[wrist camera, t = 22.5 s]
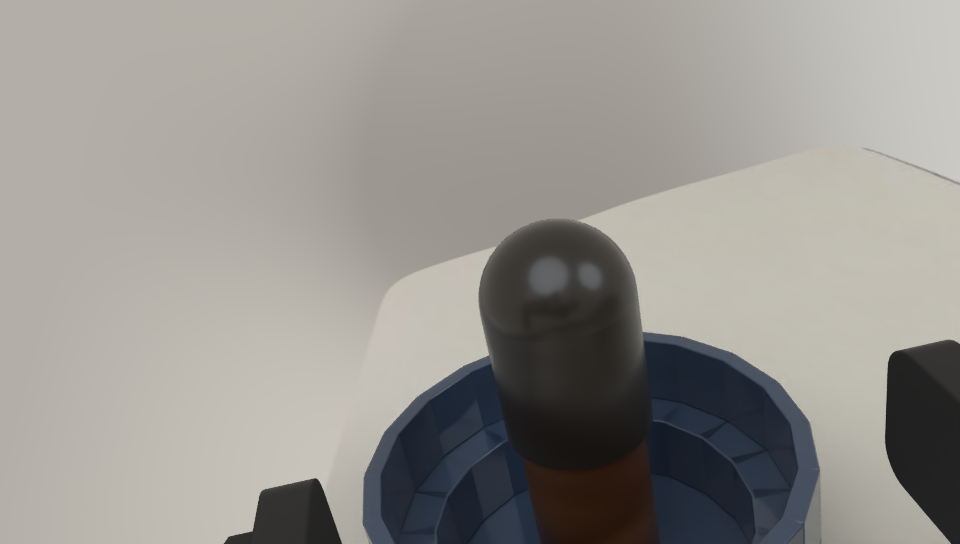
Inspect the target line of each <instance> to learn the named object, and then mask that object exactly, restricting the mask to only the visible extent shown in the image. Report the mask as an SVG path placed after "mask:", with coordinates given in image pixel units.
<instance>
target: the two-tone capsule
mask: <svg viewBox="0 0 960 544" xmlns="http://www.w3.org/2000/svg"><path fill="white" fill-rule="evenodd" d="M479 309H480V316H481V320H482V325H483V329H484V334H485V338H486V343H487V347H488V352H489V356H490V361H491V365H492V370H493V374H494V379H495V383H496V388H497V392H498V396H499V401H500V405H501V410H502V414H503V419H504V423H505V428H506V432H507V437H508V440H509V442H510V444H511V446H512V447H513V449H514V450H515V451H516V452H517V453H518V454H519V455H520V456H522V461H523V466H524V470H525V475H526V480H527V484H528V489H529V493H530V498H531V503H532V507H533V512H534V516H535V521H536V526H537V530H538V535H539V540H540V544H660V540H659V532H658V524H657V517H656V509H655V502H654V494H653V487H652V479H651V471H650V464H649V456H648V449H647V441H646V437H647V435H648V433H649V431H650V429H651V426H652V422H653V411H652V403H651V395H650V387H649V379H648V371H647V363H646V355H645V348H644V340H643V332H642V324H641V316H640V308H639V300H638V292H637V285H636V280H635V276H634V273H633V270H632V268H631V265H630V263H629V261H628V260H627V258H626V256H625V255H624V253H623V252H622V251H621V249H620V248H619V247H618V246H617V244H616V243H615V242H614V241H613V240H611V239H610V238H609V237H608V236H607V235H605V234H604V233H602V232H601V231H600V230H598V229H596V228H594V227H592V226H590V225H588V224H585V223H582V222H578V221H574V220H568V219H547V220H541V221H537V222H534V223H531V224H529V225H526V226H524V227H522V228H520V229H518V230H516V231H515V232H513V233H512V234H511V235H509V236H508V237H507V238H505V239H504V241H502V242H501V244H500V245H499V246H498V247H497V248H496V249H495V251H494V252H493V253H492V255H491V256H490V258H489V260H488V262H487V264H486V266H485V268H484V270H483V274H482V277H481V281H480V287H479Z"/></svg>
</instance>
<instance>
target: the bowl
mask: <svg viewBox="0 0 960 544" xmlns="http://www.w3.org/2000/svg"><path fill="white" fill-rule="evenodd" d="M643 340H644V348H645V355H646V363H647V371H648V379H649V387H650V395H651V403H652V411H653V422H652V426H651V429H650V431H649V433H648V435H647V437H646V441H647V449H648V456H649V464H650V471H651V479H652V487H653V494H654V502H655V509H656V517H657V524H658V532H659V540H660V544H821V499H820V467H819V463H818V458H817V453H816V449H815V444H814V440H813V435H812V430H811V426H810V423H809V421H808V419H807V418H806V417H805V415H804V414H803V413H802V411H801V410H800V409H799V408H798V406H797V405H796V404H795V402H794V401H793V400H792V399H791V397H790V396H789V395H788V393H787V392H786V391H785V390H784V388H783V387H782V386H781V385H780V383H778V382H777V381H776V380H775V379H773V378H772V377H770V376H769V375H767V374H765V373H764V372H762V371H761V370H759V369H758V368H756V367H754V366H753V365H751V364H750V363H748V362H747V361H745V360H743V359H742V358H740V357H739V356H737V355H736V354H733V353H731V352H728V351H725V350H722V349H719V348H716V347H713V346H710V345H707V344H704V343H701V342H697V341H694V340H691V339H688V338H685V337H680V336H673V335H665V334H656V333H647V332H643ZM363 526H364V529H365V532H366V535H367V538H368V541H369V544H540V540H539V535H538V530H537V526H536V521H535V516H534V512H533V507H532V503H531V498H530V493H529V489H528V484H527V480H526V475H525V470H524V466H523V461H522V456H520V455H519V454H518V453H517V452H516V451H515V450H514V449H513V447H512V446H511V444H510V442H509V440H508V437H507V432H506V428H505V423H504V419H503V414H502V410H501V405H500V401H499V396H498V392H497V388H496V383H495V379H494V374H493V370H492V365H491V361H490V356H487V357H484V358H482V359H479V360H477V361H475V362H472V363H470V364H467V365H465V366H463V367H462V368H460V369H458V370H457V371H455V372H454V373H452V374H451V375H449V376H448V377H446V378H445V379H443V380H442V381H440V382H439V383H437V384H436V385H434V386H433V387H431V388H430V389H428V390H427V391H425V392H424V393H422V394H421V395H419V396H418V397H417V398H416V399H415V400H414V401H413V402H412V403H411V404H410V405H409V406H408V407H407V408H406V409H405V411H404V412H403V413H402V414H401V415H400V416H399V417H398V418H397V419H396V420H395V421H394V422H393V423H392V425H391V426H390V427H389V428H388V429H387V430H386V431H385V432H384V434H383V436H382V438H381V440H380V443H379V445H378V447H377V449H376V451H375V453H374V455H373V458H372V460H371V462H370V464H369V466H368V468H367V471H366V473H365V476H364V489H363Z"/></svg>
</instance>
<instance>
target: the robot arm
mask: <svg viewBox="0 0 960 544" xmlns="http://www.w3.org/2000/svg"><path fill="white" fill-rule="evenodd" d="M885 444H886V451H887V455H888V459H889V462H890V465H891V467H892V469H893V472H894V474H895V475H896V477H897V479H898V481H899V482H900V484H901V485H902V486H903V487H904V489H905V490H906V491H907V492H908V493H909V495H910V496H911V497H912V498H913V499H914V500H915V502H916V503H917V504H918V505H919V506H920V507H921V509H922V510H923V511H924V512H925V513H926V515H927V516H928V517H929V518H930V519H931V520H932V522H933V523H934V524H935V525H936V526H937V527H938V529H939V530H940V531H941V532H942V533H943V535H944V536H945V537H946V538H947V539H948V540H949V542H950V543H951V544H960V344H959V343H957V342H955V341H953V340H944V341H939V342H935V343H930V344H926V345H921V346H917V347H912V348H908V349H903V350H899V351H895V352H893V353H892V355H891V356H890V358H889V362H888V374H887V401H886V429H885ZM224 544H342V542H341V540H340V537H339V534H338V531H337V528H336V525H335V522H334V519H333V517H332V514H331V511H330V508H329V505H328V502H327V499H326V496H325V494H324V491H323V488H322V486H321V484H320V482H319V481H318V479H316V478H314V479H310V480H305V481H301V482H297V483H292V484H287V485H283V486H279V487H274V488H269V489H265V490H263V491H262V492H261V494H260V496H259V501H258V507H257V512H256V517H255V522H254V528H253V531H252V532H248V533H243V534H239V535H234V536H230V537H228V539H227V540H226V542H225V543H224Z"/></svg>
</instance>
